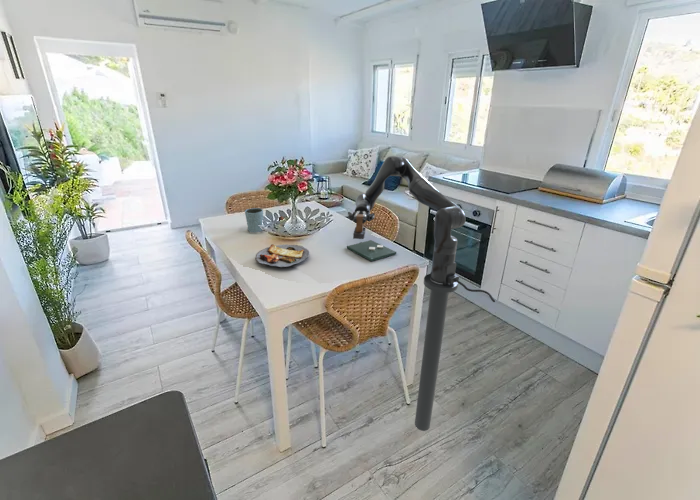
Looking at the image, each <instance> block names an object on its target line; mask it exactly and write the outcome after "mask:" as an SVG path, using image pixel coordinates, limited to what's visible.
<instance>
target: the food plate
mask: <svg viewBox="0 0 700 500" xmlns="http://www.w3.org/2000/svg"><path fill="white" fill-rule="evenodd" d="M310 255H311V252H310V250H309V249H308V248H307V247H304V246H303V245H297V244H288V243H287V244H278V245H275V244H271V245H270V246H268V247H265V248H263V249H261V250H259V251H258V252H257V253H256V254H255V257H254V259H255V260H256V262H258V264H262V265H266V266H269V267H278V268H285V267H286V268H287V267H291V266H293V265H296V264H297V265H298V264H299V263H302V262H303V261H305V260H306V259H307V258H308V257H310Z"/></svg>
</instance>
